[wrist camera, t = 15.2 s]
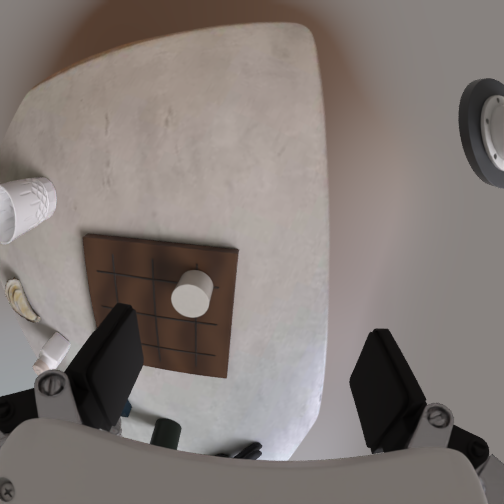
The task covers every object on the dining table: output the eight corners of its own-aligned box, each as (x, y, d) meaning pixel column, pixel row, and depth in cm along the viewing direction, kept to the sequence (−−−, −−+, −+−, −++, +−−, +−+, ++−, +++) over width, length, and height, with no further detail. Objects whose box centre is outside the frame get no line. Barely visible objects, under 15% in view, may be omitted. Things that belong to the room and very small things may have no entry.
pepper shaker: (56, 329, 42) (31, 359, 33) (72, 342, 43) (48, 374, 34) (53, 340, 43) (29, 369, 34) (68, 352, 44) (46, 383, 35)
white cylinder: (214, 271, 35) (209, 287, 31) (212, 302, 37) (208, 319, 33) (178, 267, 35) (170, 282, 31) (179, 298, 37) (171, 314, 33)
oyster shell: (45, 295, 44) (8, 271, 37) (50, 301, 42) (10, 276, 35) (33, 320, 42) (-4, 297, 35) (38, 327, 40) (-2, 304, 33)
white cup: (36, 228, 35) (-4, 251, 26) (22, 184, 32) (-21, 199, 23) (66, 212, 34) (23, 234, 25) (51, 164, 31) (4, 174, 22)
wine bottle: (164, 432, 52) (138, 541, 24) (151, 418, 50) (119, 533, 22) (185, 431, 52) (164, 547, 24) (173, 417, 50) (145, 541, 22)
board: (238, 249, 36) (238, 254, 34) (227, 372, 44) (226, 379, 42) (87, 233, 35) (81, 236, 34) (107, 350, 43) (103, 356, 42)
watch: (114, 409, 50) (99, 445, 40) (100, 385, 47) (80, 423, 37) (135, 412, 50) (121, 450, 40) (121, 388, 47) (103, 429, 37)
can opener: (227, 466, 58) (226, 482, 53) (206, 458, 57) (203, 475, 52) (272, 445, 53) (273, 465, 48) (249, 437, 52) (249, 457, 46)
